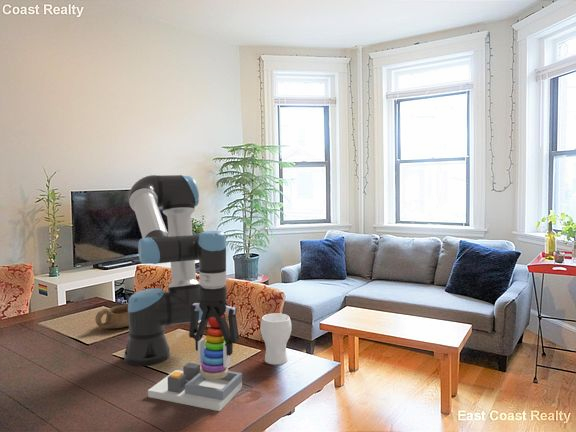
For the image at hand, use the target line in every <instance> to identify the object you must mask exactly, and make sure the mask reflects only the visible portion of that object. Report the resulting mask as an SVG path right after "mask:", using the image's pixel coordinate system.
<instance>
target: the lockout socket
mask: <svg viewBox="0 0 576 432" xmlns="http://www.w3.org/2000/svg"><path fill="white" fill-rule="evenodd" d="M205 379H206V378H204V377H202V375H201V374H200V373H199V374H198V375H196V376H195V377H194V378H193V379H191V380H190V381H189V382H188V383H186V384H185V393H186V394H191V395H197V396H202V397H207V398H212V399H218V400H224V399H225V398H226V397H227V396H228V395H229V394H230V393H231V392H232V391H233V390H234V389H235V388H236V387H237V386H238V385H239V384H240V383H241V382H242V383H243V373H242V372H236V371H231V370H228V374H227V375H226V376H225V377H224V378H221V379H222V380H227V381H230V382H229V383H228V384H227V385H226V386H225V387H224V388H223V389H216V388H211V387H205V386H200V385H199V384H200V383H201V382H203V381H204V380H205Z"/></svg>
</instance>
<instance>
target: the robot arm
mask: <svg viewBox="0 0 576 432" xmlns="http://www.w3.org/2000/svg"><path fill="white" fill-rule="evenodd" d="M199 200H200V194H199V187H198V185H197V182H196V180H195V179H194V177H192V176H190V175H182V174H177V175H175V174H174V175H173V174H172V175H170V174H169V175H167V174H165V175H160V174H159V175H157V174H155V175H154V174H151V175H147V176H145V177H141V178H140V179H139V180H137V181H136V182H135V183H134V184H133V185H132V186H131V188H130V189H129V193H128V203H129V206H130V208H131V210H132V211H133V212H134V214H135V216H136V217H135V218H136V221H137V224H138V228H139V232H140V233H141V238H140V239H139V240H138V244H137V245H138V247H137V248H138V249H137V250H138V258H139V262H140V263H141V264H144V265H147V264H148V265H150V264H151V265H157V264H167V263H170V273H171V282H170V284H169V285H168V287H167V289H168V290H167V291H165V292H164V289H162V288H160V287H156V288H153V287H152V288H146V289H142V290H139V291H136V292H135V293H133V294H132V295H130V296H129V298H128V301H127V304H128V312H129V326H128V335H129V337H128V340H127V344H126V347H125V350H124V354H123V355H124V356H123V357H124V362H125V363H126V364H127V365H128V366H134V367H147V366H154V365H157V364H160V363H163V362H165V361H167V360H168V359H169V358H170V356H171V349H170V346H169V344H168V339H167V338H166V335H165V327H169V326H175V325H181V324H183V325H184V324H188V323H189V324H190V325H189V333H188V337H189V338H190V339H191V338H192V339H194V341H195V351H196V352H197V364H200V365H201V364H202V362H203V356H204V355H205V354H204V349H205V348H206V346H205V344H206V338H204V334H205V330H206V328H207V325H208V324H209V322H208V318H210V317H215V318H216V321H217V323H218V324H219V326H220V329H221V332H222V335H223V337H224V340H225V344H224V345H223V367H225V368H226V367H227V368H228V366H229V365H230V364H231V355H232V354H233V353H234V349H233V345H235V344H236V343H237V342H238V341H239V340H240V338H239V337H240V335H239V331H238V330H239V329H238V328H239V327H238V322H237V316H236V315H237V310H238V308H237V306H233V307H232V306H229V305H228V303H227V286H226V284H227V245H228V243H227V239H226V233H225V232H224V231H220V230H207V231H204V230H203V231H201V232H200V233H193V225H192V224H193V223H192V214H193V213H194V212H195V207H197V206H198V205H199V202H200V201H199ZM159 208H162V213H163V214H164V215H165V217H166V219H167V226H166V225H165V222H164V219H163V217H162V214H161V211H160V209H159ZM167 228H168V229H167ZM195 261H198V263H199V281H198V280H197V274H196V271H197V270H196V264H195V263H196V262H195ZM226 314H227V316H226ZM222 315H224V317H223V318H220V317H221V316H222ZM227 318H228V322H227Z"/></svg>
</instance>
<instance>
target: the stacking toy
mask: <svg viewBox="0 0 576 432" xmlns="http://www.w3.org/2000/svg"><path fill="white" fill-rule="evenodd" d="M223 317H224V315H222V316H221V317H220V318H223ZM208 325H209V327H208V328H207V335H206V336H205V337H206V338H205V349H204V354H205V355H204V356H203V362H202V363H201V364H200V374H201V375H202V377H204V378H207V379H221V378H224V377H225V376H226V375H227V374H228V371H229V368H228V366H227V367H226V368H225V367H223V345H224V344H225V340H224V337H223V335H222V332H221V329H220V326H219V324H218V323H217V321H216V318H215V317H210V318H208Z"/></svg>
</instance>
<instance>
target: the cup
mask: <svg viewBox="0 0 576 432" xmlns="http://www.w3.org/2000/svg"><path fill="white" fill-rule="evenodd" d="M259 330H260V333H261V337H262V340H263V341H264V345H265V355H264V362H265V363H267V364H269V365H282V364H285V363H286V362H287V361H288V356H287V355H288V354H287V343H288V341H289V339H290V337H291V334H292V321H291V318H290V316H289V315H288V314H285V313H278V312H277V313H276V312H275V313H273V312H272V313H266V314H265V315H263V316H262V317H261V320H260V329H259Z"/></svg>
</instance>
